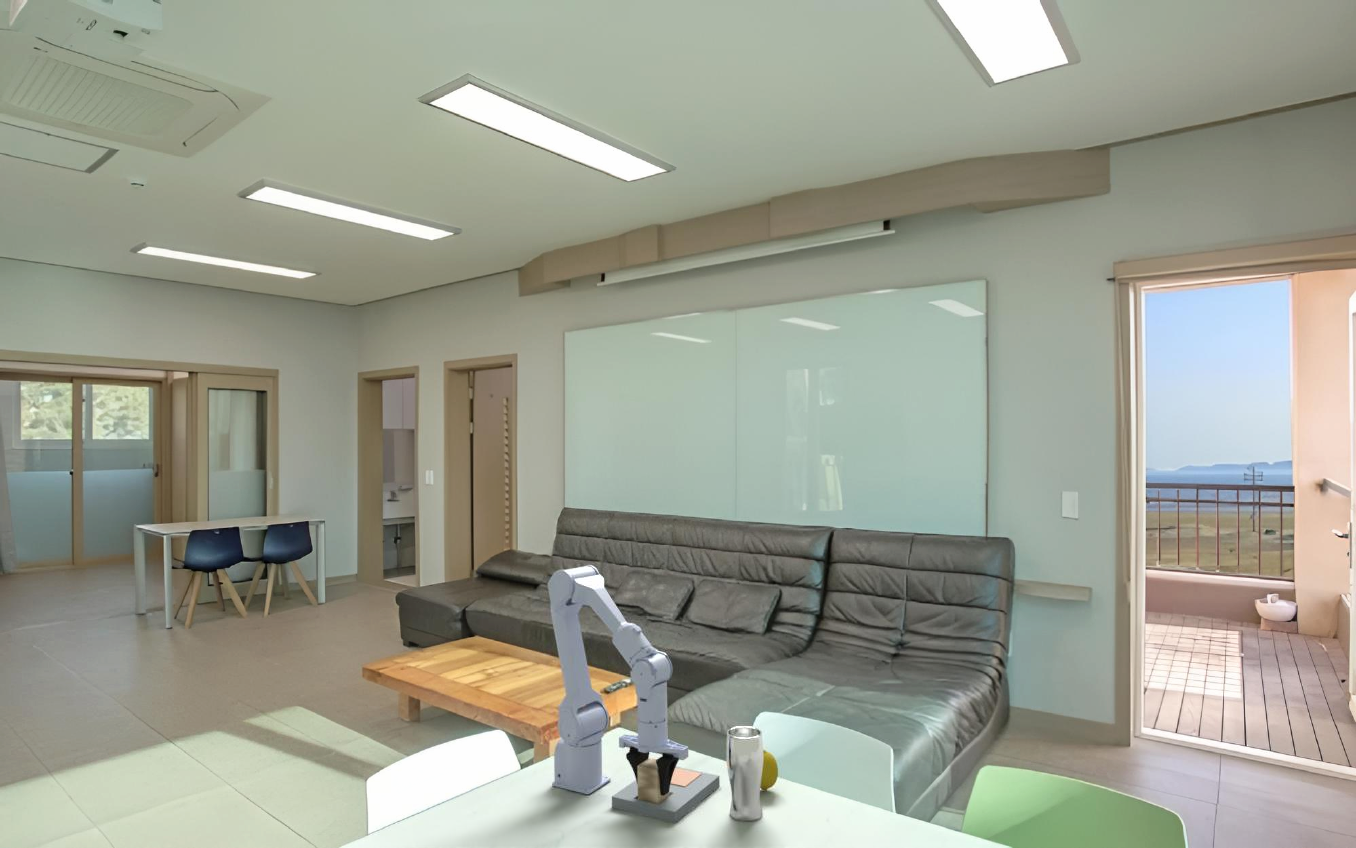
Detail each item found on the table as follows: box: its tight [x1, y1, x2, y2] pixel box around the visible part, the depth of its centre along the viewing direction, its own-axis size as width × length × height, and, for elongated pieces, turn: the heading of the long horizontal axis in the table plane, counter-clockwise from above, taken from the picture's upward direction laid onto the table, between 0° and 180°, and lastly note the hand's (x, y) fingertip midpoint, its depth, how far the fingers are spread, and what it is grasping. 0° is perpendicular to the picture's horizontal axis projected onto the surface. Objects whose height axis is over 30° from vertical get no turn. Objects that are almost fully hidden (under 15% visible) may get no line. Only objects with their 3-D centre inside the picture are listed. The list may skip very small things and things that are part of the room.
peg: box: [637, 757, 670, 804], centre depth 145 cm, size 4×4×8 cm
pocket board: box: [611, 766, 721, 824], centre depth 149 cm, size 14×18×2 cm
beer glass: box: [725, 725, 764, 823], centre depth 141 cm, size 7×7×15 cm
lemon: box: [760, 749, 779, 792], centre depth 151 cm, size 6×6×8 cm
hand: (653, 791), depth 145 cm, fingers closed on peg, 4 cm apart
